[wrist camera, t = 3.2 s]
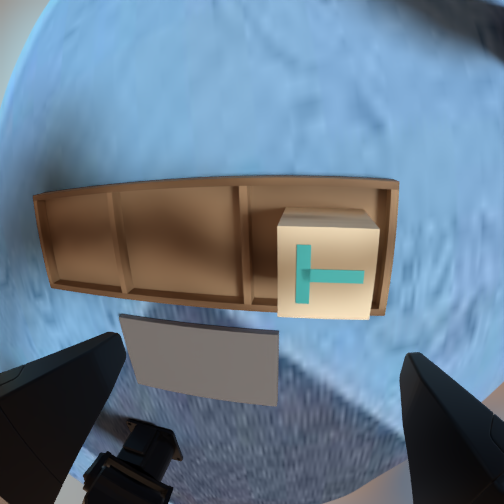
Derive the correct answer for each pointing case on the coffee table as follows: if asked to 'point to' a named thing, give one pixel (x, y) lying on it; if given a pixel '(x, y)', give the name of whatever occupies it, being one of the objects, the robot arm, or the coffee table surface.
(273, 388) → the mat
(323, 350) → the coffee table surface
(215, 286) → the bay tray
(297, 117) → the coffee table surface
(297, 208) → the letter block
